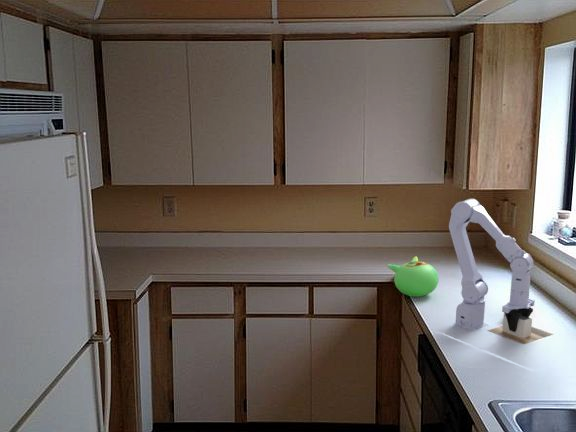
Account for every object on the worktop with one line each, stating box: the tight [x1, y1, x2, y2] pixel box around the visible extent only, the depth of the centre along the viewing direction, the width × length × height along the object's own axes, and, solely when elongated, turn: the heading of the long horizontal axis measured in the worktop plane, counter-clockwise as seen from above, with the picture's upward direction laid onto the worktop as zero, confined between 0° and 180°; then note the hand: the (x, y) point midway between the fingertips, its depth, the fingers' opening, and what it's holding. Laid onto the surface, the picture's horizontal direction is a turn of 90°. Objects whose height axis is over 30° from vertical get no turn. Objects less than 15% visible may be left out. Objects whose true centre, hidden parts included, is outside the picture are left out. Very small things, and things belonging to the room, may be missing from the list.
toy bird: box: [386, 255, 439, 298], centre depth 240 cm, size 18×17×15 cm
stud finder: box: [502, 313, 533, 338], centre depth 199 cm, size 4×8×6 cm, turn 34°
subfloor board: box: [486, 325, 554, 345], centre depth 201 cm, size 16×14×1 cm
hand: (516, 329), depth 199 cm, fingers closed on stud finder, 4 cm apart
